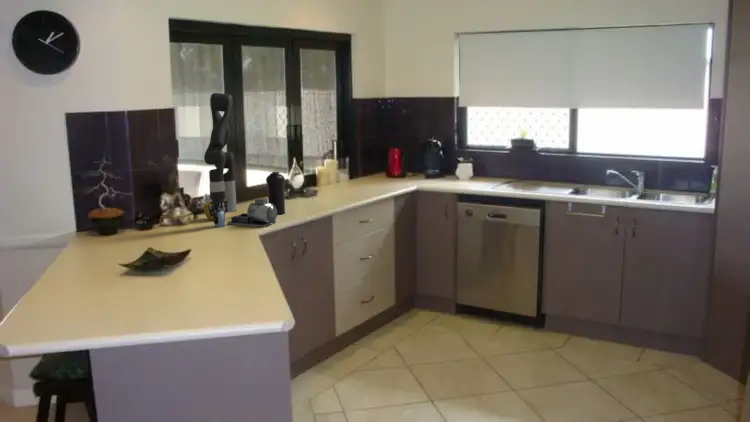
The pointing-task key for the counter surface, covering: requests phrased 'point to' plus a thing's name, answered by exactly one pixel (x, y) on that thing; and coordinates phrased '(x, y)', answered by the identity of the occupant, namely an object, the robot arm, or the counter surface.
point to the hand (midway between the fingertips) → (219, 222)
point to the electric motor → (256, 214)
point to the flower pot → (206, 210)
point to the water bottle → (276, 191)
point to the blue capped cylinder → (220, 219)
